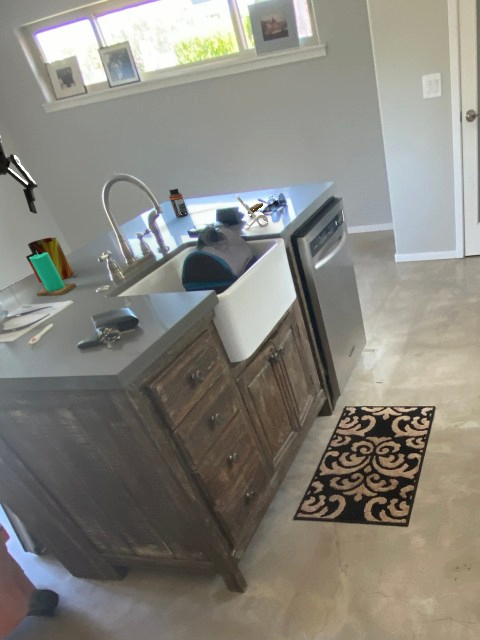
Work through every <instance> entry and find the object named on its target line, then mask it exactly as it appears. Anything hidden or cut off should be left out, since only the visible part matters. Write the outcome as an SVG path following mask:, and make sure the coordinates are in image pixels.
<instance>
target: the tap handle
mask: <svg viewBox="0 0 480 640" xmlns="http://www.w3.org/2000/svg"><path fill="white" fill-rule="evenodd" d="M271 197H273V195H272V196H270V197H269V198H271ZM262 206H263V202H259V203H256V204H254V205H253V206H251V207H249V209H250V210H251V211H252V212H253V213H254V212H255V211H257V210H258V209H259V208H261V207H262ZM253 209H254V210H253ZM248 214H250V213H249V212H248V211H247V215H248ZM249 217H250V218H253V217H252V215H251V216H249Z"/></svg>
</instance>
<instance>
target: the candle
mask: <svg viewBox="0 0 480 640" xmlns="http://www.w3.org/2000/svg"><path fill="white" fill-rule="evenodd" d="M36 252H37V251H36ZM37 254H38V253H37ZM29 258H30V260H31V262H32V264H33V266H34V268H35V270H36V271H37V273H38V275H39V277H40V279H41V281H42V285H43V286H44V288H46V290H47V291H54V290H58V289H61V288H63V287H64V286H65V285H64V284H65V283H64V282H63V279H61V277H60V275H59V273H58V271H57V269H56V267H55V266H54V264H53V262H52V260H51V258H50V256H49V254H48V253H43V254H40V255H34V256H32V257H29Z"/></svg>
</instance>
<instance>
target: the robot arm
mask: <svg viewBox="0 0 480 640" xmlns="http://www.w3.org/2000/svg"><path fill="white" fill-rule="evenodd" d="M2 141H3V139H2V136H1V134H0V176H1V175H2V176H7V174H8V175H10V177H11V178H13V179H14V180H15V181H17V182H18V183H19V184H20V185H21V186H23V189H22V191H23V193H24V198H25V200H26V204H27V206H28V209H29V212H30V213H32V214H38V211H37V208H36V205H35V202H36V196H35V194H34V189H36V188H38V184H37V182H36V181H35V180H34V178H33V177H32V176H31V175H30V174H29V172H28V171H27V170H26V168H25V167H24V166H23V165H22V163H21V161H20V159H19V157H17V156H16V155H14V154H12V153H11V154H10V155H9V156H7V154H8V153H7V151H6V148H5V144H4V142H2ZM11 164H13V165H14V167H15V168H16V169H17V171H18V172H19V173H20V174H21V176H23V178H24V179H25V180H24V179H23V178H22V177H21V176H20V175H19V174H17V173H16V172H15V171H14V170H13V169H12V168H10V165H11Z"/></svg>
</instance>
